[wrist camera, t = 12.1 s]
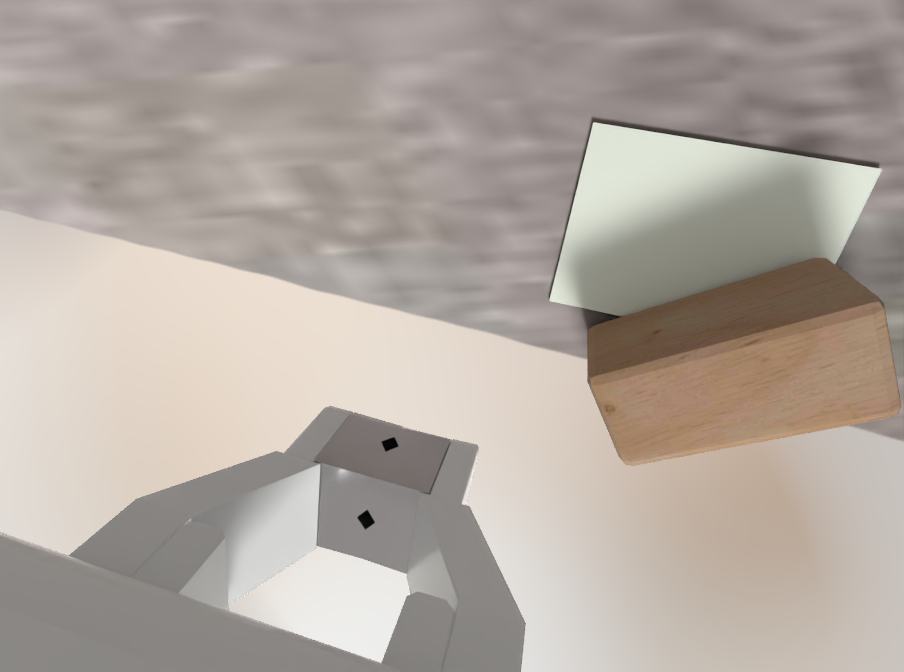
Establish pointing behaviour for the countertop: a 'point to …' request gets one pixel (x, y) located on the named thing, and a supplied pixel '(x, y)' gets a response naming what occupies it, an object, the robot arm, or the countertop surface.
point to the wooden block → (744, 364)
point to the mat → (696, 217)
